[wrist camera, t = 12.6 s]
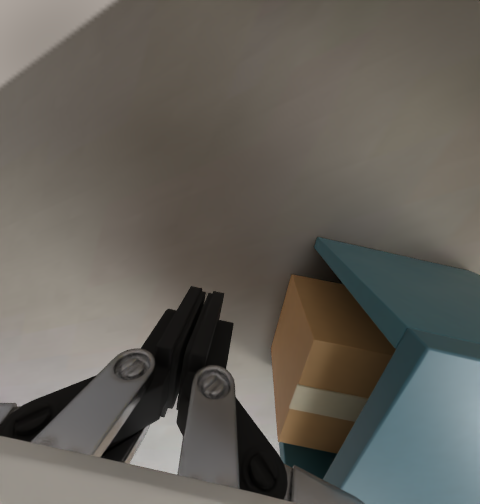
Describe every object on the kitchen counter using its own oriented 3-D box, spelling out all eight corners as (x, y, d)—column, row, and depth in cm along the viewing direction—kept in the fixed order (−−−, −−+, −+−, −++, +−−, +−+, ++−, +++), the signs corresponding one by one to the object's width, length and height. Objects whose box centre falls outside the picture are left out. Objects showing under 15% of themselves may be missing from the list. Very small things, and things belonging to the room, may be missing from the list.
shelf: (272, 367, 19) (288, 571, 9) (317, 236, 15) (428, 348, 5) (394, 395, 19) (540, 630, 9) (470, 270, 15) (871, 448, 5)
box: (270, 348, 19) (276, 443, 12) (290, 273, 16) (313, 340, 10) (353, 364, 19) (406, 469, 12) (385, 292, 16) (474, 372, 10)
